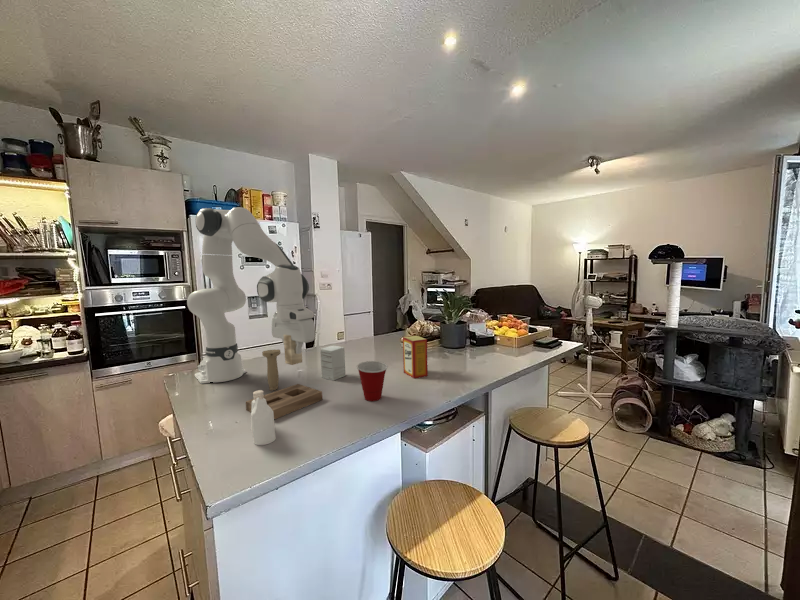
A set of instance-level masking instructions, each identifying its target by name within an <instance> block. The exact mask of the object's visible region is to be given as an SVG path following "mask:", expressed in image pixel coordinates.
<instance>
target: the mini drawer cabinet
mask: <svg viewBox="0 0 800 600" xmlns="http://www.w3.org/2000/svg"><path fill="white" fill-rule="evenodd" d="M319 350H320V351H319V352H320V366H321V369H320V370H321V371H320V372H321V378H323V379H325V380H330V381H333V380H334V381H335V380H339V379H340V378H342V377H346V375H347V374H346V358H345V357H346V355H345V353H346V352H345V347H344V346H338V345H329V346H326V347H322V348H320V349H319Z"/></svg>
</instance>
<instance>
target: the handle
mask: <svg viewBox="0 0 800 600" xmlns="http://www.w3.org/2000/svg"><path fill="white" fill-rule="evenodd" d="M280 354H281V349H267V350H263V351H262V356H263V357H264V358H266V360H267V362H266V363H267V366H266V367H267V368H266V369H267V370H266V371H267V372H266V375H267V376H266V377H267V378H266V379H267V384H268V388H269V391H273V390H274V391H277V390H279V381H280V380H279V379H280V378H279V369H278V362H277V361H278V360H277V357H278V356H280ZM276 389H277V390H276Z"/></svg>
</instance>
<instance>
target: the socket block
mask: <svg viewBox="0 0 800 600" xmlns="http://www.w3.org/2000/svg"><path fill="white" fill-rule="evenodd" d="M263 397H264V399H266V402H267V405H268V406H269V407H270V408H271V409H272V410H273V413H274V419H275V420H277V419H280V418H282V417H285V416H286V414H287V415H288V414H291V412H292V413H293V412H296V411H299V410H300V409H303V407H304V408H306V407H309V406H311V405H313V404H316V403H318V402H320V400H321V401H323V390H318V389H316V388H314V387H313V388H312V387H309V386H306V385H303V384H300V383H297V384H294V385H290V386H288V387H284V388H282V389H277V390H274V391H273V392H270V393H269V392H268V393H266V394H264V396H263ZM253 400H254V398H251V399H249V400H246V401H245V410H246V411H247V412H248V413H251V406H252V401H253ZM308 405H309V406H308Z"/></svg>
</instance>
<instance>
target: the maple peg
mask: <svg viewBox="0 0 800 600" xmlns="http://www.w3.org/2000/svg"><path fill="white" fill-rule="evenodd" d="M296 345H297V344H296V343H295V341H292V340H291V336H290V335H284V344H283V346H284V360H285V361H284V362H285V363H284V364H286V365H291V366H294V365H298V364H301V363H303V351H302V348H301V353H300V354H296V353H295V351H294V349H295V348H296Z"/></svg>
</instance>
